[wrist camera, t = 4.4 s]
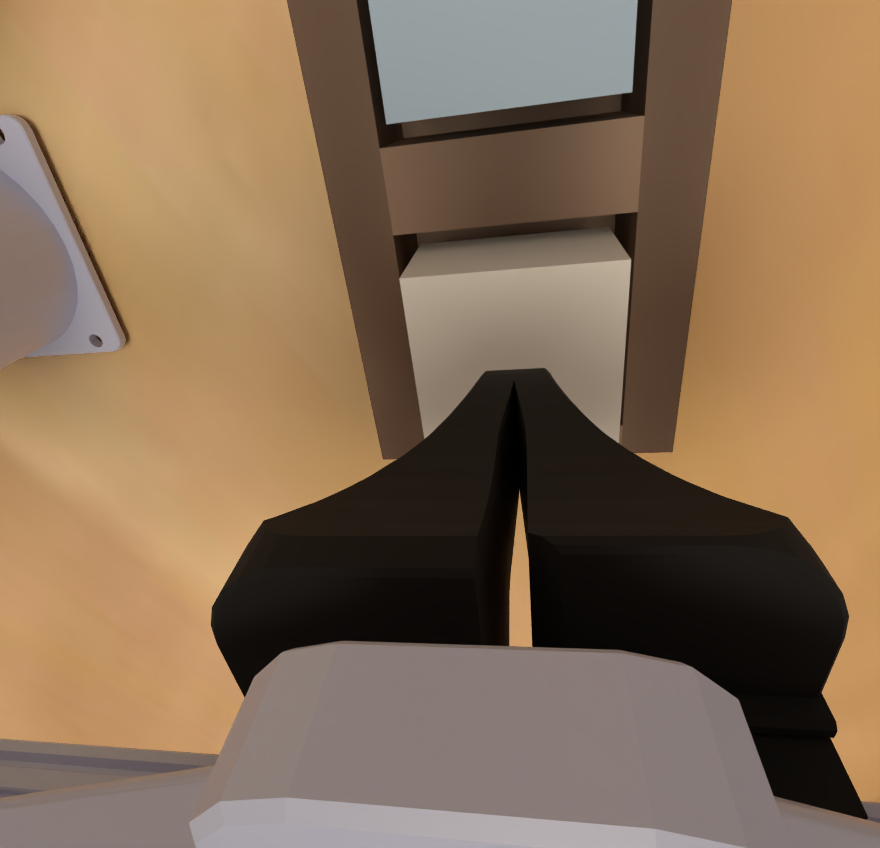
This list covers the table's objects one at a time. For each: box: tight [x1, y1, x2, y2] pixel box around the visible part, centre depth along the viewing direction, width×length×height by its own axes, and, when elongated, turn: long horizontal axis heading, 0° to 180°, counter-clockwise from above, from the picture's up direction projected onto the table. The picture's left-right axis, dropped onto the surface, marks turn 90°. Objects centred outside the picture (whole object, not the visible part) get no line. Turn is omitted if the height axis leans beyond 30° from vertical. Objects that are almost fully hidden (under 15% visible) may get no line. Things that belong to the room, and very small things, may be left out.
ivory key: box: [399, 227, 631, 443], centre depth 14 cm, size 5×5×3 cm
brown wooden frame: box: [287, 0, 732, 459], centre depth 14 cm, size 9×16×4 cm, turn 7°
